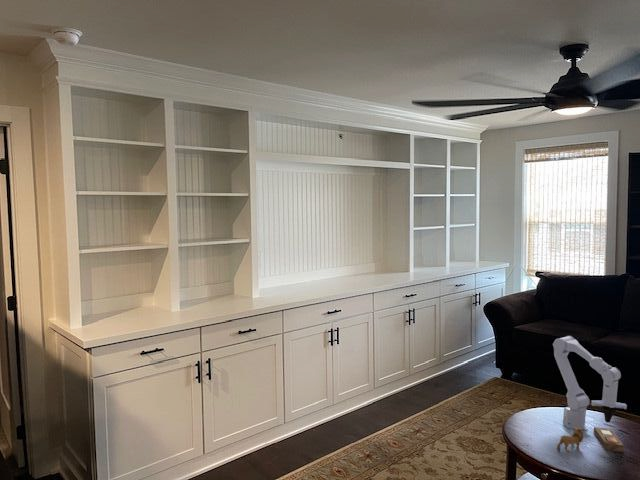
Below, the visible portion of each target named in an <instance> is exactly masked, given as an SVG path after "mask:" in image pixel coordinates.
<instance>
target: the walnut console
mask: <svg viewBox="0 0 640 480" xmlns="http://www.w3.org/2000/svg"><path fill="white" fill-rule="evenodd" d="M600 430H606V431H610V432H611V433H612V435H605V434H602V433H601V431H600ZM593 434H594V436H595V437H596V439H597V440H598V441H599V443H600V444H601V446H602V447H603V449H604V451H614V452H621V453H623V452H624V448H625V445H624V444H623V442H622V441H621V440H620V439H619V437H618V436H617V435H616V433H615V432H614V431H613V429H612V428H605V427H597V426H594V427H593ZM605 437H611V438H615V439H616V440H617V441H618V443H616V442H608V441H607V440H606V438H605Z"/></svg>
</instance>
